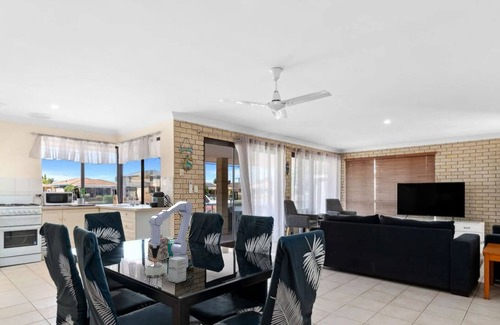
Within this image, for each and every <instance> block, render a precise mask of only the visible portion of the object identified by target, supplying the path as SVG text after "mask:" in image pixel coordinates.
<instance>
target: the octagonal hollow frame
mask: <svg viewBox="0 0 500 325" xmlns="http://www.w3.org/2000/svg"><path fill="white" fill-rule="evenodd" d="M160 264H161V266H160V267H148V265H149V264H146V265H143V271H144V275H145V276H146V277H151V278H153V277H154V278H155V277H160V276H164V274H165V265H164V264H162V263H160Z"/></svg>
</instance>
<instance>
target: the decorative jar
mask: <svg viewBox="0 0 500 325" xmlns="http://www.w3.org/2000/svg"><path fill="white" fill-rule="evenodd" d="M169 242H170V243H171V241H170V239H169V238H168V237H167V236H163V234H160V244H159V245H160V248H159V250H158V254H157V258H158V262H160V261H161V260H162V261H165V260H164V259H166V260H168V259H167V258H168V257H169V253H168V244H169ZM147 243H148V244H147V260H149V261H152V258H153V255H152V250H151V248H150V247H151V246H153V245H151V244H149V243H151V238H150V239H149V240H148V242H147ZM169 258H170V257H169Z"/></svg>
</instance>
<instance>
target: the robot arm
mask: <svg viewBox="0 0 500 325" xmlns="http://www.w3.org/2000/svg"><path fill="white" fill-rule="evenodd" d="M193 208H194V206H193V204H192V202H191V201H184V200H183V201H182V200H179V201H177V202H175V204H174V205H172V206H171V207H169V209H162V210H161V212H159V213H156V215H152V216H150V219H149V220H148V224H149V225H150V239H151V243H149V244H151V245H153V246H151V247H150V248H151V250H152V255H153V258H157V254H158V250H159V248H160V245H159V244H160V235H161V228H162V226H161V225H163V223H164V222H165V221H166V220H167V219H169V218H170V217H171V215H172V214H174V213H176V212H179V213H180V215H182V217H181V220H180V221H181V222H180V226H179V229H178V233H177V238H176V239H174V240H173V243H172V245H170V252H172V258H173V257H183V258H186V269H187V268H188V267H189V256H188V254H186V253H187V251H188V242H187V241H186V239H187V233H188V229H189V225H190V221H191V217H192V211H193Z"/></svg>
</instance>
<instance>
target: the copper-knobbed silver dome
mask: <svg viewBox="0 0 500 325" xmlns="http://www.w3.org/2000/svg"><path fill="white" fill-rule="evenodd" d="M157 262H159V261H158V258H152V260H151V263H150V264H147V265H148V267H160V266H161V264H162V263H157Z"/></svg>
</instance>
